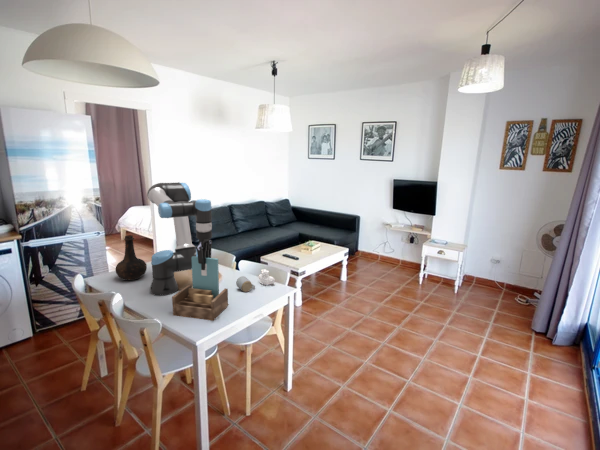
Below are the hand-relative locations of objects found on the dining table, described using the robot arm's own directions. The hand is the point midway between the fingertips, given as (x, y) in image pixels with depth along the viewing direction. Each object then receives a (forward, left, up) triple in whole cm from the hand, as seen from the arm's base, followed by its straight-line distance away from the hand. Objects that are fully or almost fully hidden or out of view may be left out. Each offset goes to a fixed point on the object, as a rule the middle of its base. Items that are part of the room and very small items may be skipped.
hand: (205, 274), depth 163 cm
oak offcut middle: (-1, -4, -17) cm, 18 cm away
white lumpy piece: (+21, +39, -19) cm, 48 cm away
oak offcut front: (+2, -7, -17) cm, 19 cm away
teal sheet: (0, 0, -15) cm, 15 cm away
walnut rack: (0, -5, -19) cm, 19 cm away
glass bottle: (-65, +26, -19) cm, 72 cm away
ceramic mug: (+12, +28, -19) cm, 36 cm away
